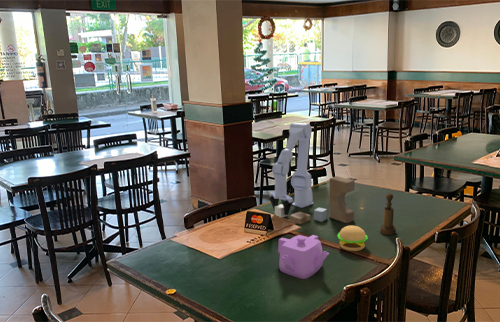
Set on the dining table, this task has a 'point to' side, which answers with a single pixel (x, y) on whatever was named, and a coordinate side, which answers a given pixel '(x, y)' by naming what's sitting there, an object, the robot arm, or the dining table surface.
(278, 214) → the cream block
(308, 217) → the walnut slab
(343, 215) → the decorative block
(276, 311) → the dining table surface
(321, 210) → the slate block
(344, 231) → the hamburger
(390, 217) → the brown wooden tall piece
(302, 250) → the teakettle
